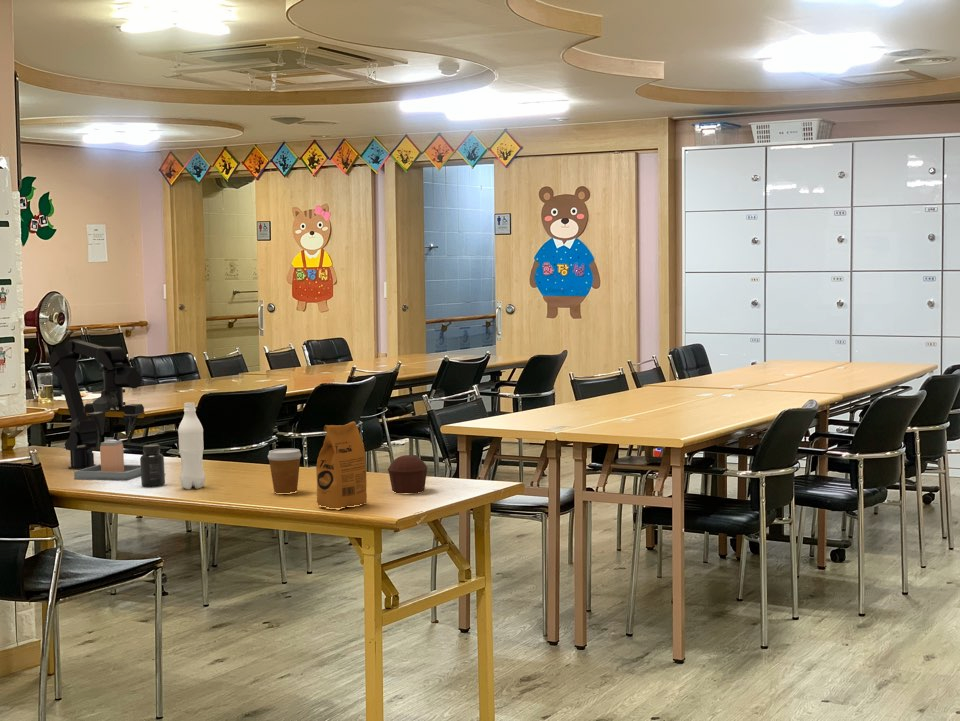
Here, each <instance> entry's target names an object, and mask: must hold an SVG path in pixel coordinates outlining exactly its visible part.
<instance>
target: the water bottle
mask: <svg viewBox="0 0 960 721" xmlns="http://www.w3.org/2000/svg"><path fill="white" fill-rule="evenodd" d="M183 406H184V408H183V412H184V414H183V417H182V420H181V421H180V424H179V426H178V429H177V434H178V451H179V455H180V460H181V461H180V462H181V468H180V475H179V481H180V482H179V483H180V486H181V487H182V488H183V489H186V490H191V489H192V487H194V488H195V489H196V490H197V489H198V488H199V489H201V488H202V487H203V486H204V484H205V482H206V475H205V469H204V467H203V466H204V465H203V454H204V450H205V449H204V428H203V425H202V423H201V421H200V419H199V418H198V416H197V413H196V411H197V409H196V402H194V401H189V402H184V405H183Z"/></svg>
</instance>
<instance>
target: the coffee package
mask: <svg viewBox="0 0 960 721" xmlns="http://www.w3.org/2000/svg"><path fill="white" fill-rule="evenodd" d="M323 431H324V432H326V436H325V438H324V440H323V445H322V447H321V449H320V451H319V453H318V457H317V460H316V467H315V470H316V471H315V472H316V503H317V505H318V506H319V505H321V506H326V507H329V508H341V507H347V506H354V505H360V504H363V505H365V504H364V503H366V504H367V501H368V499H367V498H368V494H367V465H366V464H367V462H366V460H367V459H366V451H365V444H364V442H363V439H362V436H361V434H360V430H359V428H358V426H357V423H356V421H350V422H348V423H347V424H343V425H341V424H339V425H336V424H335V425H334V424H330V425H328V424H325V425H324V427H323Z"/></svg>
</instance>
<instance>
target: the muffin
mask: <svg viewBox="0 0 960 721" xmlns="http://www.w3.org/2000/svg"><path fill="white" fill-rule="evenodd" d="M387 472H388V474H389V480H390V486H391V491H394V492H396V493H416V494H419V493H418V492H421V493H423V492H425V487H426V481H427V472H428V466H427V464H426V463H425V462H424V460H422V459H421V458H420V457H418V456H416V455H412V454H404V455H400V456H397V457H396V458H395V459H394V460H392V462H391V464H390V465H389V466H388V468H387ZM422 491H423V492H422ZM394 492H393V493H394ZM396 493H395V494H396Z"/></svg>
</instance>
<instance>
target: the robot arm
mask: <svg viewBox="0 0 960 721" xmlns="http://www.w3.org/2000/svg"><path fill="white" fill-rule="evenodd" d="M82 355H83V356H85V357H88V358H91V359H94V360H96V363H98V364H99V365H101V366H102V367H100V369H98V372H99V373H103V390H101V392H100V396H99V397H98V398H96V399H95V400H93V402H89V403H85V404H84V401H83V397H82V394H81V391H80V387H79V384H78V380H77V377H76V374H77V370H78V367H79V366H78V361H80V359H81V358H82ZM48 364H49V367H50V370H51V372H52V374H54V376H55V377H56V378H58V380H59V382H60V385H61V388H62V391H63V394H64V395H63V396H64V399H65V402H66V406H67V409H68V413H69V416H70V419H71V423H70V426H69V429H68V432H69V436H68V438H67V439H66V441H65V443H64V447H65V450H66V451H69V452H70V453H69V454H70V455H69V456H70V466H68V467H67V469H71V470H73V469H77V470H81V469H85V468H88V467H92V466H95V465H97V464H95V454H94V452H93V449H95V448H97V444H98V441H99V440H98V439H99V434H100V435H101V436H103V435H104V434H105V426H106V425H105V424H106V413H108V412H121V413H124V414H123V415H122V417H123V419H124V429H125V430H124V432H125V436H126V437H129V435H130V434H131V431H132V429H133V427H134V426H133V425H134V424H135V423H136V420H137V419H138V417H139V416H141V414H144V413H145V406H144V405H143V404H142V403H130V404H126V401H124V393H126V389H137V388H139V387H140V386H141V384H142V376H141V374H140V372H139V371H138V370H137V366H132V363H131V362H130V360H129V358H128V356H127V354H126V352H125V351H124V348H123V347H121V346H102V345H99V344H95V343H91V342H88V341H84V340H83V339H69V340H67V341H66V342H65V343H64V344H63V345H61V346H59V347H58V348H57V349H55V350H54V351H53V352H52V353H51V354H50V356H49V357H48ZM89 416H90V417H91V418H92V419H91V418H90V417H89Z"/></svg>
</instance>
